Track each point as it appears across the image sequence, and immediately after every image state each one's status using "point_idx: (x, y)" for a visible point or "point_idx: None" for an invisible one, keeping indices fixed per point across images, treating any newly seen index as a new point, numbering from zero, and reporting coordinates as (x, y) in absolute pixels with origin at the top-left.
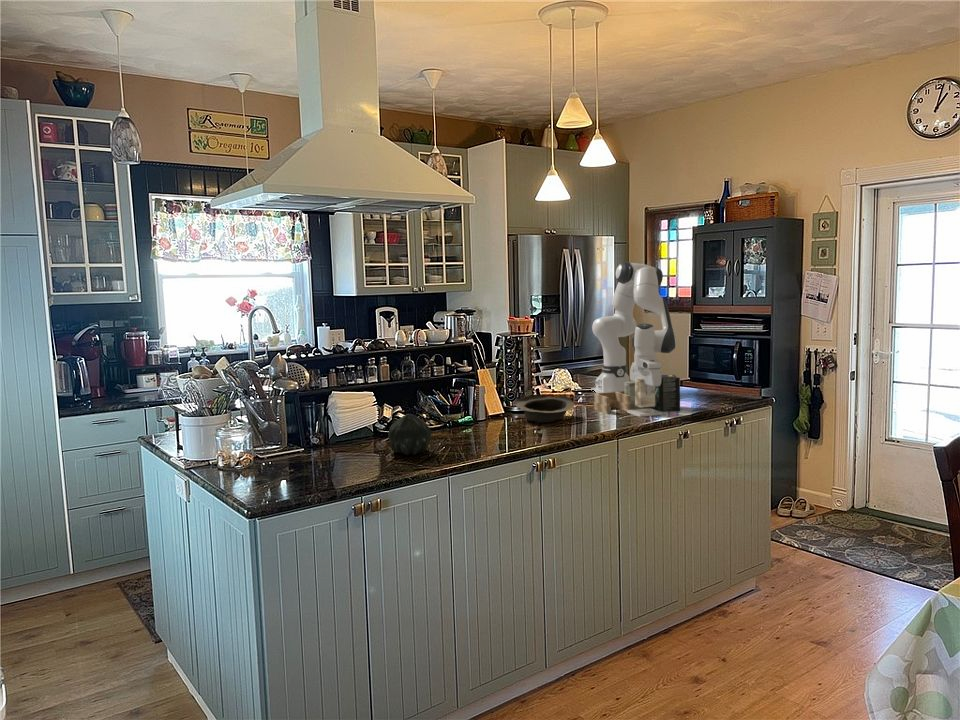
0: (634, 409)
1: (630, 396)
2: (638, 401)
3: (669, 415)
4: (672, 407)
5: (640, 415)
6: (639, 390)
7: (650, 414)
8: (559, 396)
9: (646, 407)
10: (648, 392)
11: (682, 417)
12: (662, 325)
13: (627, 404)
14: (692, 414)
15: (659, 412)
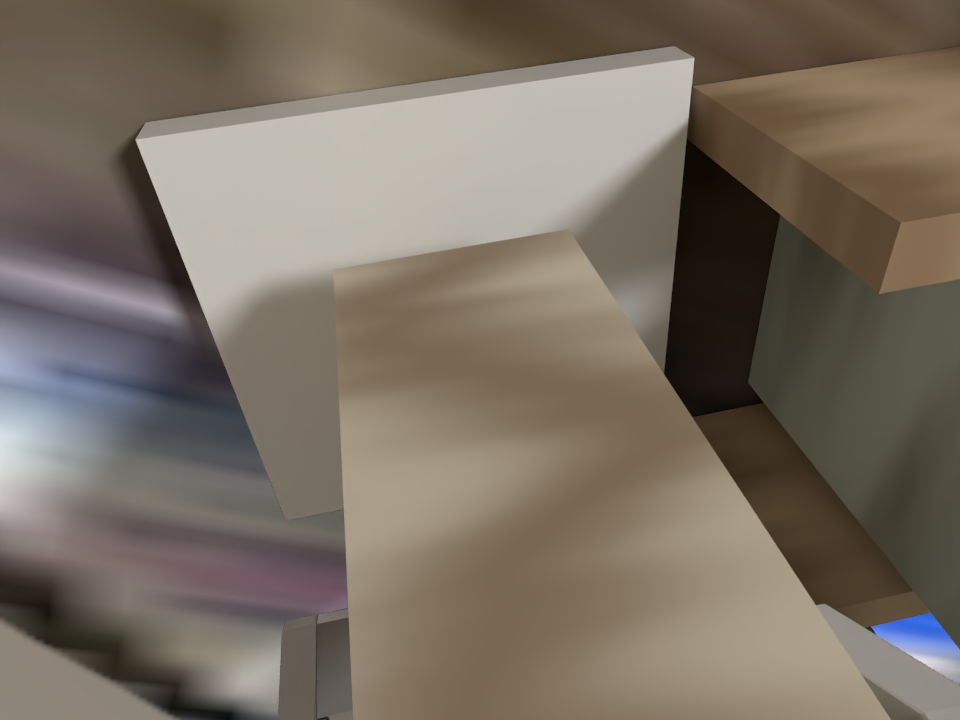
0: (666, 218)
1: (870, 282)
2: (437, 321)
3: (207, 544)
4: None
5: (148, 146)
6: (418, 591)
7: (223, 342)
8: None
9: (734, 427)
10: (283, 707)
11: (40, 630)
12: None
13: (796, 128)
14: (226, 713)
15: (274, 482)
